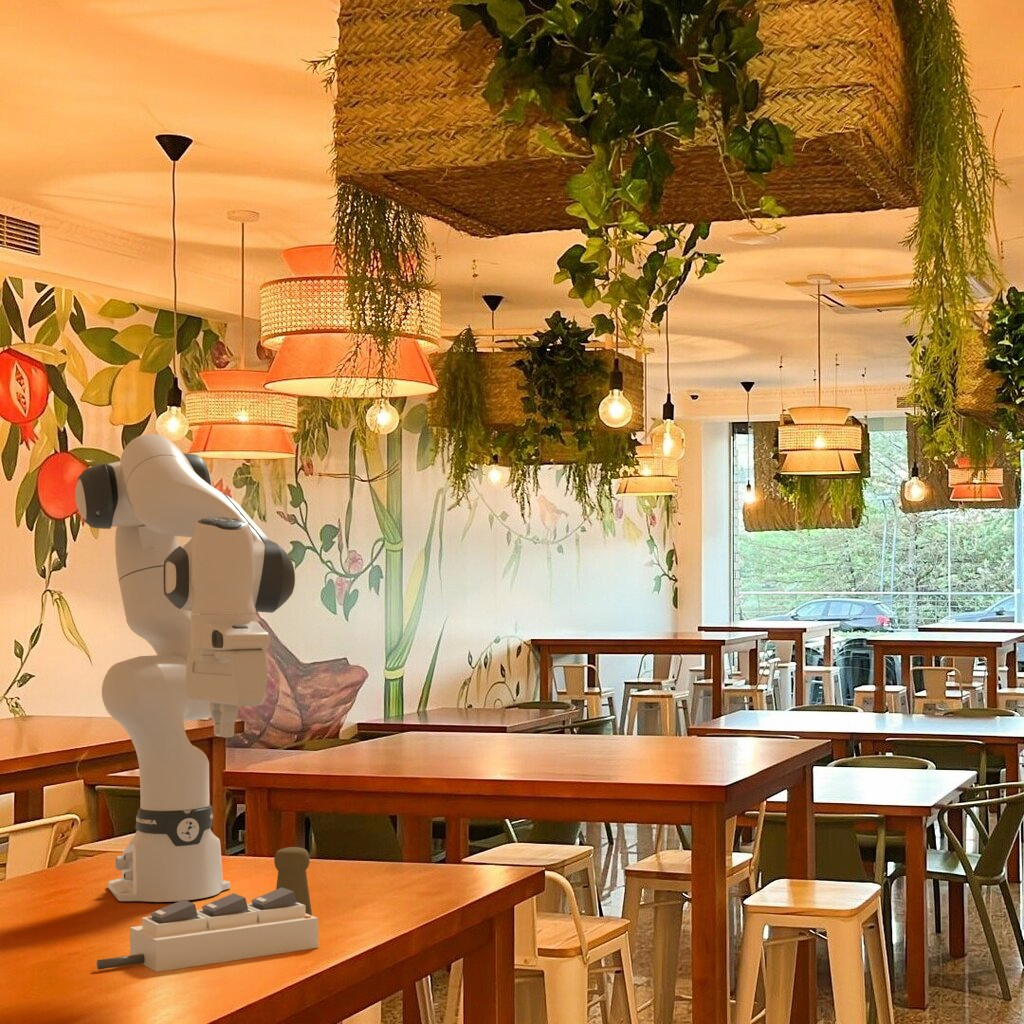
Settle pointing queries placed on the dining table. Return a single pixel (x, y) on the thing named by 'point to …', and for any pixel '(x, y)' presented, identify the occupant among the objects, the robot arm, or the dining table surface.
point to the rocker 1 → (175, 912)
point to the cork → (294, 873)
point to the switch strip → (218, 938)
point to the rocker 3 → (275, 899)
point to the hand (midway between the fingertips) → (224, 736)
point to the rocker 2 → (226, 906)
